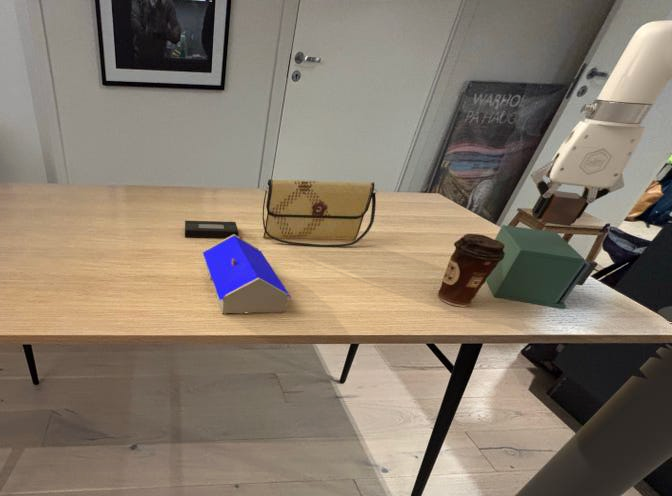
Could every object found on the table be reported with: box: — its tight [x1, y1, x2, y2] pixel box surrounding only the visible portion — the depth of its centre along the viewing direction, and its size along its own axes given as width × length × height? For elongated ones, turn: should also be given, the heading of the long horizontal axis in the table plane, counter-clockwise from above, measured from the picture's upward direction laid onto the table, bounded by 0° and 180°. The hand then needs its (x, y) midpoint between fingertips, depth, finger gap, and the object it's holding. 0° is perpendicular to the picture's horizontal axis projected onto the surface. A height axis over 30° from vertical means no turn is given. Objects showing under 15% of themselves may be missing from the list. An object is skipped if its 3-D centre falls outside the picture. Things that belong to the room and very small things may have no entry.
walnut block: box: [537, 190, 587, 227], centre depth 78 cm, size 5×5×5 cm
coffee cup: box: [437, 233, 505, 308], centre depth 78 cm, size 9×8×13 cm
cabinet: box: [485, 224, 585, 310], centre depth 85 cm, size 13×16×11 cm
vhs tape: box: [184, 220, 239, 239], centre depth 107 cm, size 8×14×2 cm, turn 91°
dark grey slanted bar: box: [559, 252, 599, 303], centre depth 80 cm, size 5×8×8 cm, turn 159°
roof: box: [202, 234, 291, 314], centre depth 82 cm, size 22×14×7 cm, turn 7°
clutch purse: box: [262, 178, 378, 248], centre depth 101 cm, size 30×7×15 cm, turn 91°
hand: (552, 218), depth 79 cm, fingers closed on walnut block, 5 cm apart
